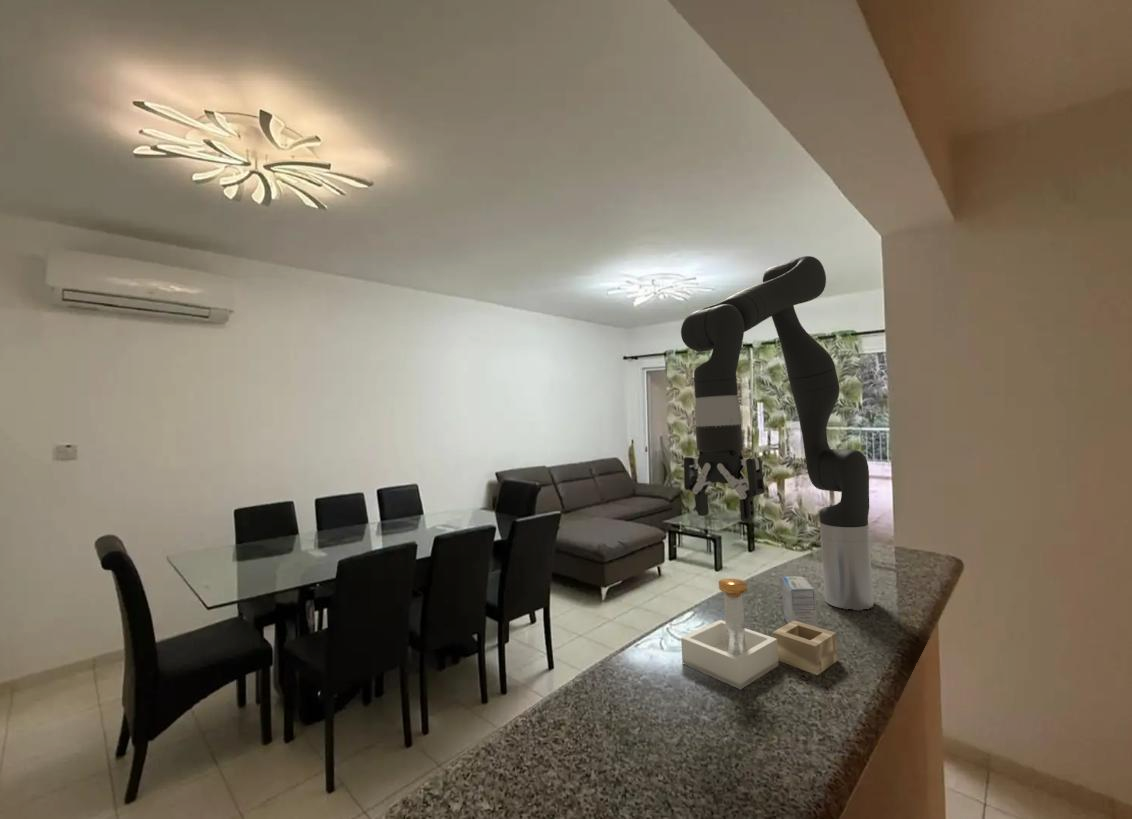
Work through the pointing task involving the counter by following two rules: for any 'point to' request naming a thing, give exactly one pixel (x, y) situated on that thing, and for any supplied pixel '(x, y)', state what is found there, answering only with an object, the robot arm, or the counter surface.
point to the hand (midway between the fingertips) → (724, 518)
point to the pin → (734, 614)
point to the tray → (729, 655)
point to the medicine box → (799, 600)
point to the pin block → (806, 647)
